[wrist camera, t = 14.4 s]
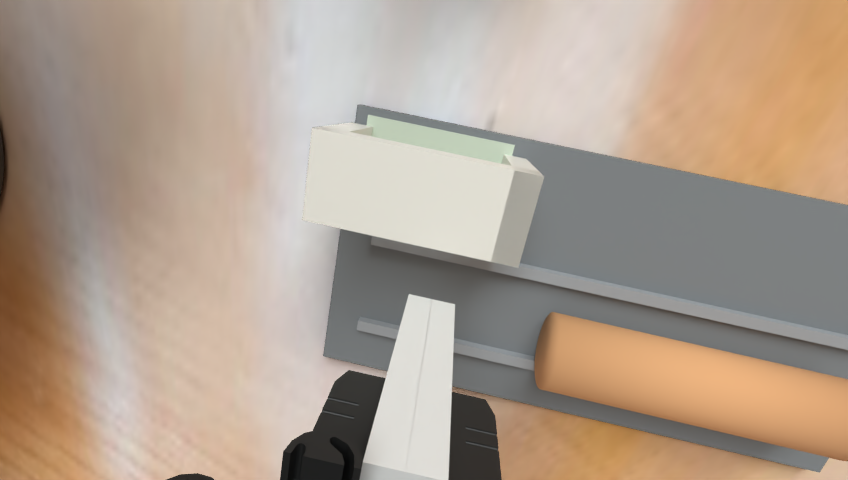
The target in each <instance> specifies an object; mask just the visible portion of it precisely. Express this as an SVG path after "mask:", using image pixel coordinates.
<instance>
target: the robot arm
mask: <svg viewBox="0 0 848 480" xmlns="http://www.w3.org/2000/svg"><path fill="white" fill-rule="evenodd" d="M3 176H4V153H3V143H2V136H1V131H0V195H1V191H2V185H3ZM454 321H455V304H452V303H447V302H443V301H438V300H434V299H429V298H425V297H420V296H416V295H411V294H409V295H408V299H407V303H406V306H405V310H404V314H403V317H402V321H401V324H400V328H399V332H398V335H397V339H396V343H395V346H394V350H393V354H392V357H391V361H390V365H389V368H388V372H387V375H386V378H381V377H377V376H372V375H368V374H363V373H359V372H355V371H350V370H349V371H347V372H346V373H345V374H344V375H342V376H341V377H340V378H339V379H337V380H336V381H335V383H334V385H333V387H332V389H331V392H330V394H329V396H328V399H327V400H326V403H325V405H324V407H323V409H322V413H321V414H320V416H319V418H318V420H317V423H316V425H315V427H314V429H313V431H311V432H307V433H304V434H302V435H301V436H299V437H297V438H296V439H294V440H292V441H291V443H290V444H289V445H288V446H287V448H286V449H285V450H284V451H283V460H282V468H281V477H280V480H501V470H500V460H499V451H498V440H497V437H496V435H497V430H496V420H495V415H494V413H493V412H492V410H491V408H490V406H489V405H488V403H487V401H486V400H485V399H480V398H476V397H472V396H467V395H463V394H458V393H454V392H452V374H453V347H454ZM167 480H214V479H213V478H212V477H208V476H205V475H201V474H198V473H197V474H182V475H178V476H175V477H172V478H169V479H167Z"/></svg>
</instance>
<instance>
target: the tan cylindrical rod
mask: <svg viewBox="0 0 848 480" xmlns="http://www.w3.org/2000/svg"><path fill="white" fill-rule="evenodd" d="M534 371H535V381H536V384H537V387H538V388H539V389H541V390H545V391H549V392H554V393H558V394H562V395H566V396H570V397H575V398H579V399H583V400H587V401H592V402H596V403H600V404H604V405H609V406H613V407H617V408H621V409H625V410H630V411H634V412H638V413H642V414H647V415H651V416H655V417H659V418H664V419H668V420H672V421H676V422H681V423H685V424H689V425H693V426H697V427H702V428H706V429H710V430H714V431H719V432H723V433H727V434H731V435H736V436H740V437H744V438H748V439H752V440H757V441H761V442H765V443H769V444H774V445H778V446H782V447H786V448H791V449H795V450H799V451H803V452H807V453H812V454H816V455H820V456H824V457H829V458H833V459H837V460H842V461H848V379H845V378H841V377H836V376H832V375H827V374H823V373H819V372H814V371H810V370H806V369H801V368H797V367H792V366H788V365H784V364H779V363H775V362H770V361H766V360H762V359H757V358H753V357H749V356H744V355H740V354H735V353H731V352H727V351H722V350H718V349H713V348H709V347H705V346H700V345H696V344H692V343H687V342H683V341H678V340H674V339H670V338H665V337H661V336H656V335H652V334H648V333H643V332H639V331H635V330H630V329H626V328H621V327H617V326H613V325H608V324H604V323H599V322H595V321H591V320H586V319H582V318H578V317H573V316H569V315H564V314H560V313H556V312H551V313H550V314H549V315H548V316H547V317H546V319H545V321H544V323H543V325H542V328H541V331H540V334H539V338H538V342H537V347H536V353H535V366H534Z"/></svg>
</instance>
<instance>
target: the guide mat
mask: <svg viewBox="0 0 848 480" xmlns="http://www.w3.org/2000/svg"><path fill="white" fill-rule="evenodd" d="M355 123H357V124H362V125H367V126H372V127H373V131H372V137H377V138H381V139H386V140H391V141H396V142H400V143H405V144H410V145H415V146H420V147H424V148H429V149H434V150H439V151H443V152H448V153H453V154H458V155H462V156H467V157H472V158H477V159H482V160H486V161H491V162H496V163H501V164H502V161H503V157H504V154H506V155H510V156H515V157H520V158H525V159H527V160H528V161H529V162H530V163H531V164H532V165H533V166H534V167H535V168H536V169H537V170H538V171H539V172H540V173H541V174H542V175H543V176H544V180H543V183H542V187H541V190H540V194H539V197H538V201H537V204H536V208H535V211H534V215H533V218H532V222H531V225H530V229H529V232H528V236H527V239H526V243H525V246H524V250H523V253H522V257H521V260H520V264H519V267H518V268H516V267H512V266H507V265H503V264H498V263H494V262H489V261H485V260H480V259H476V258H471V257H467V256H462V255H457V254H453V253H448V252H444V251H439V250H435V249H430V248H426V247H421V246H417V245H412V244H408V243H403V242H399V241H394V240H389V239H385V238H380V237H376V236H371V235H367V234H362V233H358V232H353V231H349V230H344V229H341V230H340V237H339V245H338V252H337V259H336V266H335V274H334V281H333V288H332V296H331V303H330V310H329V318H328V325H327V332H326V340H325V347H324V354H323V356H325V357H330V358H334V359H338V360H342V361H347V362H351V363H355V364H359V365H364V366H368V367H372V368H376V369H381V370H385V371H388V368H389V365H390V361H391V357H392V354H393V350H394V346H395V343H396V339H397V335H398V332H399V328H400V324H401V321H402V317H403V314H404V310H405V306H406V303H407V299H408V295H409V294H411V295H416V296H420V297H425V298H429V299H434V300H438V301H443V302H447V303H452V304H455V321H454V347H453V374H452V386H453V387H458V388H462V389H466V390H470V391H475V392H479V393H483V394H487V395H492V396H496V397H500V398H504V399H509V400H513V401H517V402H521V403H526V404H530V405H534V406H539V407H543V408H547V409H551V410H556V411H560V412H564V413H568V414H573V415H577V416H581V417H585V418H590V419H594V420H598V421H602V422H607V423H611V424H615V425H620V426H624V427H628V428H632V429H637V430H641V431H645V432H649V433H654V434H658V435H662V436H666V437H671V438H675V439H679V440H683V441H688V442H692V443H696V444H701V445H705V446H709V447H713V448H718V449H722V450H726V451H730V452H735V453H739V454H743V455H747V456H752V457H756V458H760V459H765V460H769V461H773V462H777V463H782V464H786V465H790V466H794V467H799V468H803V469H807V470H811V471H816V472H820V471H821V469H822V468H823V466H824V465H825V463H826V462H827V460H828V458H829V457H824V456H820V455H816V454H812V453H807V452H803V451H799V450H795V449H791V448H786V447H782V446H778V445H774V444H769V443H765V442H761V441H757V440H752V439H748V438H744V437H740V436H736V435H731V434H727V433H723V432H719V431H714V430H710V429H706V428H702V427H697V426H693V425H689V424H685V423H681V422H676V421H672V420H668V419H664V418H659V417H655V416H651V415H647V414H642V413H638V412H634V411H630V410H625V409H621V408H617V407H613V406H609V405H604V404H600V403H596V402H592V401H587V400H583V399H579V398H575V397H570V396H566V395H562V394H558V393H554V392H549V391H545V390H541V389H539V388H538V387H537V384H536V381H535V371H534V366H535V353H536V347H537V342H538V338H539V334H540V331H541V328H542V325H543V323H544V321H545V319H546V317H547V316H548V315H549V314H550V313H551V312H556V313H560V314H564V315H569V316H573V317H578V318H582V319H586V320H591V321H595V322H599V323H604V324H608V325H613V326H617V327H621V328H626V329H630V330H635V331H639V332H643V333H648V334H652V335H656V336H661V337H665V338H670V339H674V340H678V341H683V342H687V343H692V344H696V345H700V346H705V347H709V348H713V349H718V350H722V351H727V352H731V353H735V354H740V355H744V356H749V357H753V358H757V359H762V360H766V361H770V362H775V363H779V364H784V365H788V366H792V367H797V368H801V369H806V370H810V371H814V372H819V373H823V374H827V375H832V376H836V377H841V378H845V379H848V205H845V204H840V203H835V202H830V201H825V200H820V199H816V198H811V197H806V196H801V195H796V194H791V193H787V192H782V191H777V190H772V189H767V188H762V187H758V186H753V185H748V184H743V183H738V182H733V181H728V180H724V179H719V178H714V177H709V176H704V175H699V174H695V173H690V172H685V171H680V170H675V169H670V168H666V167H661V166H656V165H651V164H646V163H641V162H636V161H632V160H627V159H622V158H617V157H612V156H607V155H603V154H598V153H593V152H588V151H583V150H578V149H574V148H569V147H564V146H559V145H554V144H549V143H545V142H540V141H535V140H530V139H525V138H520V137H515V136H511V135H506V134H501V133H496V132H491V131H486V130H482V129H477V128H472V127H467V126H462V125H457V124H453V123H448V122H443V121H438V120H433V119H428V118H423V117H419V116H414V115H409V114H404V113H399V112H394V111H390V110H385V109H380V108H375V107H370V106H365V105H358V106H357V113H356V120H355Z"/></svg>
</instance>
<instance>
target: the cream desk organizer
mask: <svg viewBox="0 0 848 480" xmlns="http://www.w3.org/2000/svg"><path fill="white" fill-rule="evenodd" d="M372 131H373V127H372V126H367V125H362V124H357V123H352V122H350V123H343V124H336V125H328V126H321V127H313V128H312V132H311V141H310V151H309V160H308V169H307V179H306V188H305V198H304V207H303V217H302V220H303V221H308V222H312V223H317V224H321V225H326V226H330V227H335V228H340V229H344V230H349V231H353V232H358V233H362V234H367V235H371V236H376V237H380V238H385V239H389V240H394V241H399V242H403V243H408V244H412V245H417V246H421V247H426V248H430V249H435V250H439V251H444V252H448V253H453V254H457V255H462V256H467V257H471V258H476V259H480V260H485V261H489V262H494V263H498V264H503V265H507V266H512V267H516V268H518V267H519V264H520V260H521V257H522V253H523V250H524V246H525V243H526V239H527V236H528V232H529V229H530V225H531V222H532V218H533V215H534V211H535V208H536V204H537V201H538V197H539V194H540V190H541V187H542V183H543V180H544V176H543V175H542V174H541V173H540V172H539V171H538V170H537V169H536V168H535V167H534V166H533V165H532V164H531V163H530V162H529V161H528V160H527V159H525V158H520V157H515V156H510V155H506V154H504V157H503V161H502V164H501V163H496V162H491V161H486V160H482V159H477V158H472V157H467V156H462V155H458V154H453V153H448V152H443V151H439V150H434V149H429V148H424V147H420V146H415V145H410V144H405V143H400V142H396V141H391V140H386V139H381V138H377V137H372Z"/></svg>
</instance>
